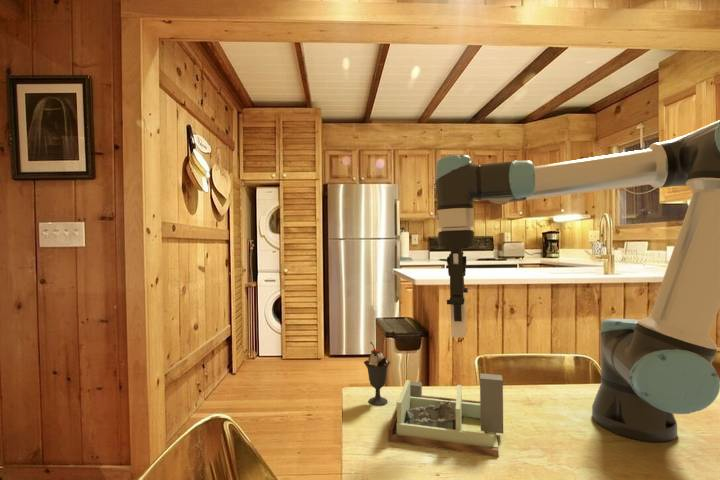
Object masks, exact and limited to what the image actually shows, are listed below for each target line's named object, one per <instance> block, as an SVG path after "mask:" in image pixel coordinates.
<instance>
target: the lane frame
mask: <svg viewBox="0 0 720 480" xmlns="http://www.w3.org/2000/svg"><path fill="white" fill-rule="evenodd" d="M422 397H423V398H432V399H439V400H449V401H456V398H451V397H443V396H442V397H441V396H432V395H423V394H422ZM462 402H470V403H480V400H470V399H462ZM387 441H388V442H392V443H398V444H407V445H414V446H420V447H426V448H435V449H440V450H441V449H443V450H448V451H454V452H455V451H456V452H463V453H470V454H478V455H484V456H489V457H497V458H498V457H499V455H500V453H499V448H498V449H497V448H489V447H482V446H474V445H467V444H460V443H452V442H445V441H438V440H430V439H423V438H416V437H408V436H401V435H397V408H396V409H395V411H394V414H393V418H392V419H391V421H390V424H389V426H388V429H387Z"/></svg>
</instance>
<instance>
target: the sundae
mask: <svg viewBox="0 0 720 480" xmlns="http://www.w3.org/2000/svg"><path fill="white" fill-rule="evenodd" d="M369 344H371V345H372V348H373V349H372V350H370V352H371V353H370V355H369V357H368V358H367V360H365V361H364V362H363V364H364V365H365V367H366V368H367V372H368V380H369V383H370V386H371V387H373V388H374V390H375V395H374V397H371V398H369V399H368V401H367V402H368V403H369V405H372V406H374V407H375V406H376V407H381V406H385V405H386V404H388V399H387V398H385V397H382V396H381V388H383V387H384V386H385V385H386V381H387V374H388V367H389V366H390V364H391V361H390V360H387V357H385V356H384V354H383V353H382V352H380V351H378V350H377V349H376V348H375V345H374V344H373V342H372V341H370V342H369Z"/></svg>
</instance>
